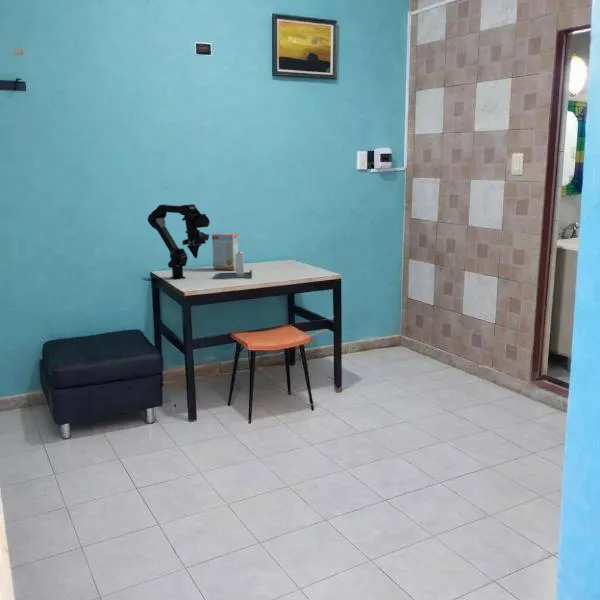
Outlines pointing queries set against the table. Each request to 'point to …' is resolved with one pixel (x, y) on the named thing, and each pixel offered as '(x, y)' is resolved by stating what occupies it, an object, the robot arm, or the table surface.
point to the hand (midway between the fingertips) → (195, 258)
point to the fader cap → (239, 263)
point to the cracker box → (224, 251)
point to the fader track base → (233, 275)
